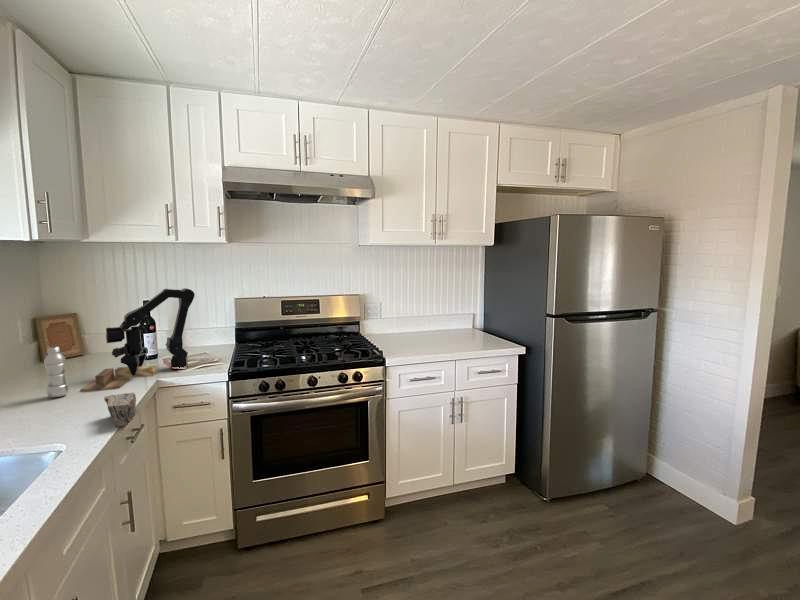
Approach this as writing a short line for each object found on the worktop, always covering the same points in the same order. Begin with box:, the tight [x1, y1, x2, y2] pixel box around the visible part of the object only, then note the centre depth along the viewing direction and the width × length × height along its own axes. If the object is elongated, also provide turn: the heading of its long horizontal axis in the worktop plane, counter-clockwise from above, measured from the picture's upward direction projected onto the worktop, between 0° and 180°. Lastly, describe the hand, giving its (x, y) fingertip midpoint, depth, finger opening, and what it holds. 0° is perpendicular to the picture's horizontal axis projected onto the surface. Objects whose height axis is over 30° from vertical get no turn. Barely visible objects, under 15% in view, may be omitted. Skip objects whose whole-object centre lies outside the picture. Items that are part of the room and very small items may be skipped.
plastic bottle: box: [43, 345, 69, 398], centre depth 166 cm, size 6×7×20 cm
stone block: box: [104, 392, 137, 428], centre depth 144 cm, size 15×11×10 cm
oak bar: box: [114, 365, 158, 378], centre depth 194 cm, size 16×4×4 cm, turn 99°
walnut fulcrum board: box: [79, 367, 130, 392], centre depth 180 cm, size 14×12×6 cm
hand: (136, 373), depth 195 cm, fingers open, 8 cm apart
